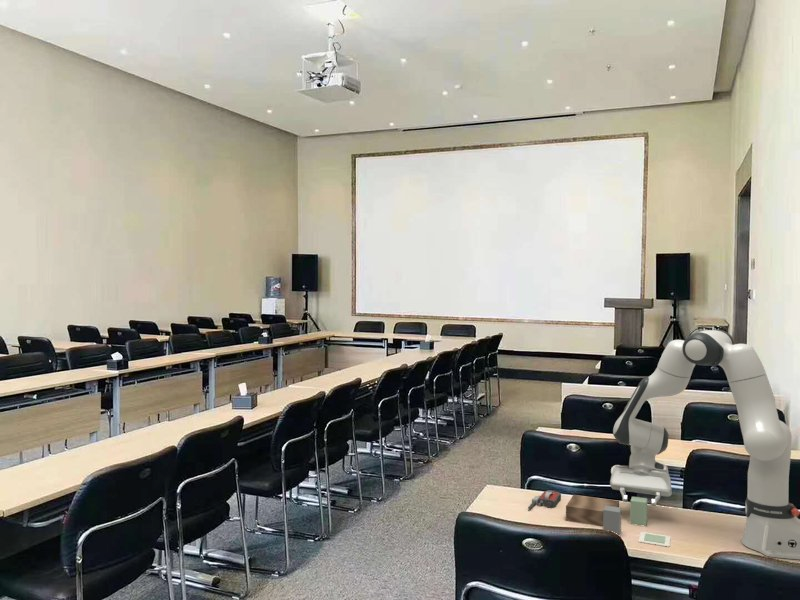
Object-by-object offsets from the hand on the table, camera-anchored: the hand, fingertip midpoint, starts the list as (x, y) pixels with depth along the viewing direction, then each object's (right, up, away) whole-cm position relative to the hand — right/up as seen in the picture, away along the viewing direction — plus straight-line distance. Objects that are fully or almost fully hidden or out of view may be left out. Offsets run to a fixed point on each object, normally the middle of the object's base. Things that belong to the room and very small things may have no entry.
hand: (639, 503), depth 218 cm
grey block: (-13, -6, -11) cm, 18 cm away
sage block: (-1, -6, -1) cm, 6 cm away
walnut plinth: (-15, -6, +4) cm, 17 cm away
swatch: (-1, -6, -16) cm, 18 cm away
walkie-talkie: (-29, -7, +18) cm, 34 cm away
